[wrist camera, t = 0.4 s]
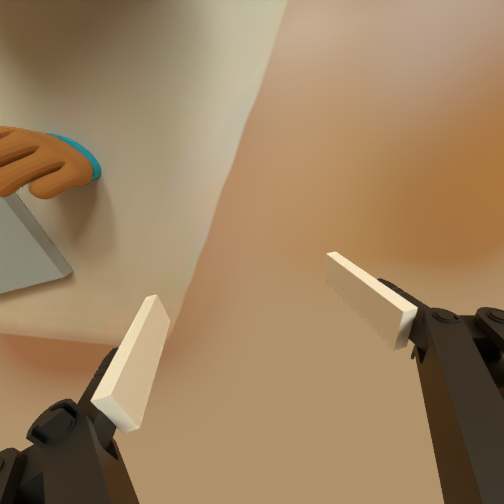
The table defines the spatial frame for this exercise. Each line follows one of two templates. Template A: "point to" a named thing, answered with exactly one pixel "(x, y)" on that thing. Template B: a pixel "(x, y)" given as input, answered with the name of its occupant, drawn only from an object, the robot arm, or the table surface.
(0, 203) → the grey flat plate
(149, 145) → the table surface
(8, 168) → the toy
